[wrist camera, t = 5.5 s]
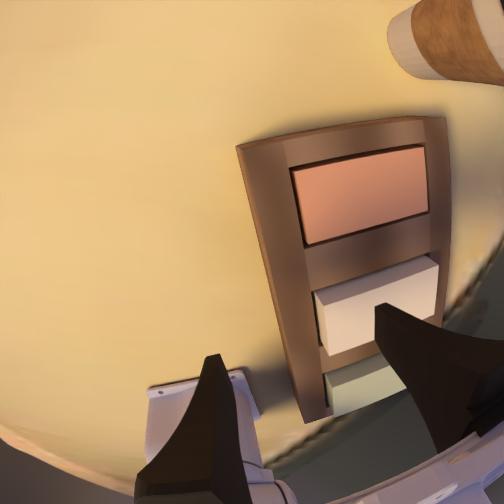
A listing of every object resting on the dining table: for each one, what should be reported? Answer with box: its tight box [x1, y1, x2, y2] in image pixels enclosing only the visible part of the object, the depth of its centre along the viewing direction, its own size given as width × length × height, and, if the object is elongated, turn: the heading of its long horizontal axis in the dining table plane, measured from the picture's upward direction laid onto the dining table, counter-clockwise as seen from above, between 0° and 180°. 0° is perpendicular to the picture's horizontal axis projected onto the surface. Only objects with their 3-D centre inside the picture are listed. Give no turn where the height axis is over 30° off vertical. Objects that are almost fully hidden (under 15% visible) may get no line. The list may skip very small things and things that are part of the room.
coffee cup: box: [387, 0, 504, 86], centre depth 11 cm, size 8×8×15 cm
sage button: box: [322, 352, 406, 417], centre depth 25 cm, size 9×4×4 cm, turn 103°
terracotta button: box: [288, 144, 428, 244], centre depth 19 cm, size 9×4×4 cm, turn 103°
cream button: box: [311, 254, 439, 356], centre depth 21 cm, size 9×4×4 cm, turn 103°
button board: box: [235, 116, 451, 424], centre depth 23 cm, size 14×24×4 cm, turn 13°
